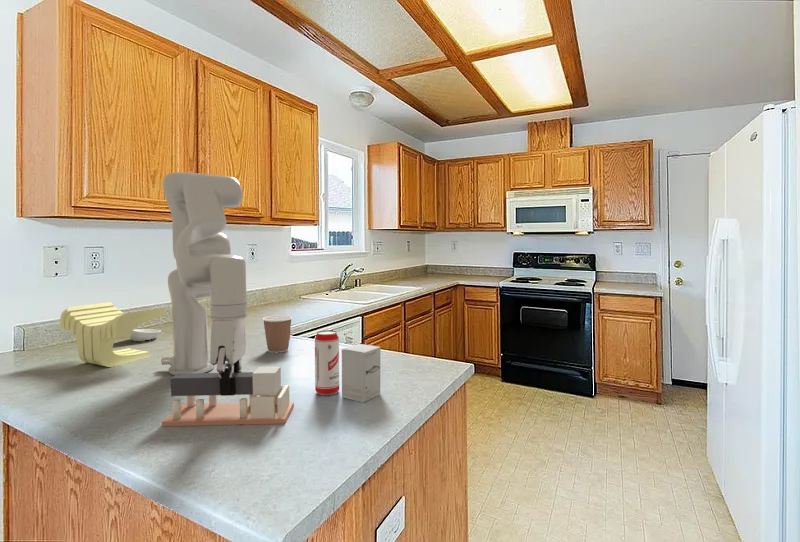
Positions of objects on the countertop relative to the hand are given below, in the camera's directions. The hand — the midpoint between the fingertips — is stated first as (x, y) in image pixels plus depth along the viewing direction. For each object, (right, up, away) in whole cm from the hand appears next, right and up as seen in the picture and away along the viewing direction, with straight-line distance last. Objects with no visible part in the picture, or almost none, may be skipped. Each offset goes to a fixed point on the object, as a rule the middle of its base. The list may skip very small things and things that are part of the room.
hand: (231, 390), depth 97 cm
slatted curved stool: (-57, -3, +45) cm, 73 cm away
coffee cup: (-6, -2, +59) cm, 59 cm away
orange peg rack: (0, -6, 0) cm, 6 cm away
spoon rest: (-68, -1, +72) cm, 99 cm away
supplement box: (+28, -5, +13) cm, 32 cm away
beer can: (+19, -5, +15) cm, 25 cm away
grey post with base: (0, 0, 0) cm, 0 cm away
